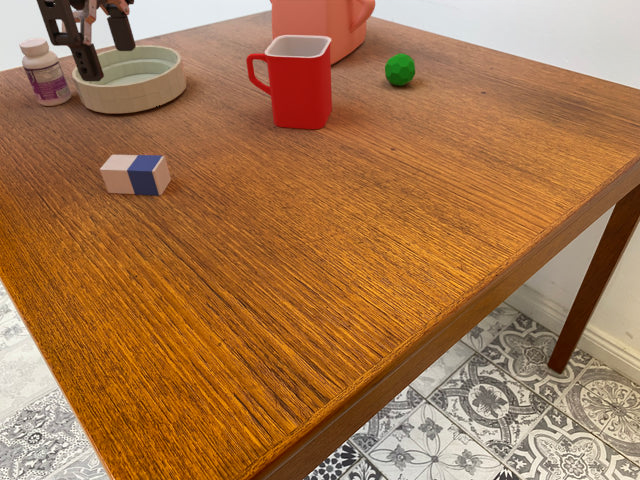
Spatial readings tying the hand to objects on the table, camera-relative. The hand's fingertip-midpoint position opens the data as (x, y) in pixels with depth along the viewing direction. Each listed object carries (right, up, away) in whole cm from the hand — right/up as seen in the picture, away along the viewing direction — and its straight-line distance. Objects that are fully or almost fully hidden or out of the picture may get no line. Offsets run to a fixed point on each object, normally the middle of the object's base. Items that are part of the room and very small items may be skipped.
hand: (111, 64), depth 58 cm
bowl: (-8, +5, +30) cm, 31 cm away
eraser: (+1, -13, +8) cm, 15 cm away
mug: (+19, -1, +21) cm, 28 cm away
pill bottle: (-21, +4, +29) cm, 36 cm away
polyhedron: (+36, +6, +28) cm, 46 cm away
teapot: (+25, +18, +43) cm, 52 cm away
